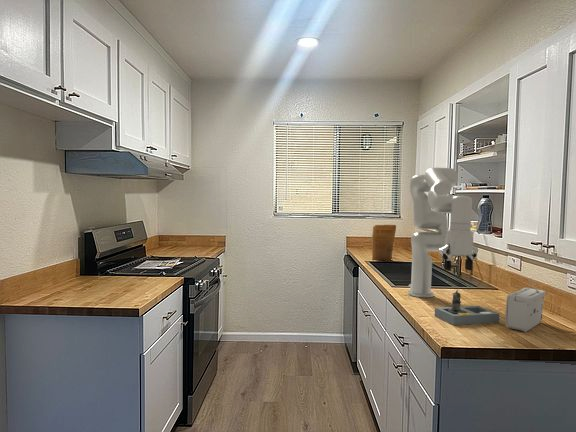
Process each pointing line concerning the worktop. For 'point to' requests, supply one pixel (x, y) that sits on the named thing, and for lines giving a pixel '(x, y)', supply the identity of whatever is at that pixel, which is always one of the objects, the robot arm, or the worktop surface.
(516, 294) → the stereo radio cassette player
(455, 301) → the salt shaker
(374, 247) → the pancake mix bag
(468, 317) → the socket board
